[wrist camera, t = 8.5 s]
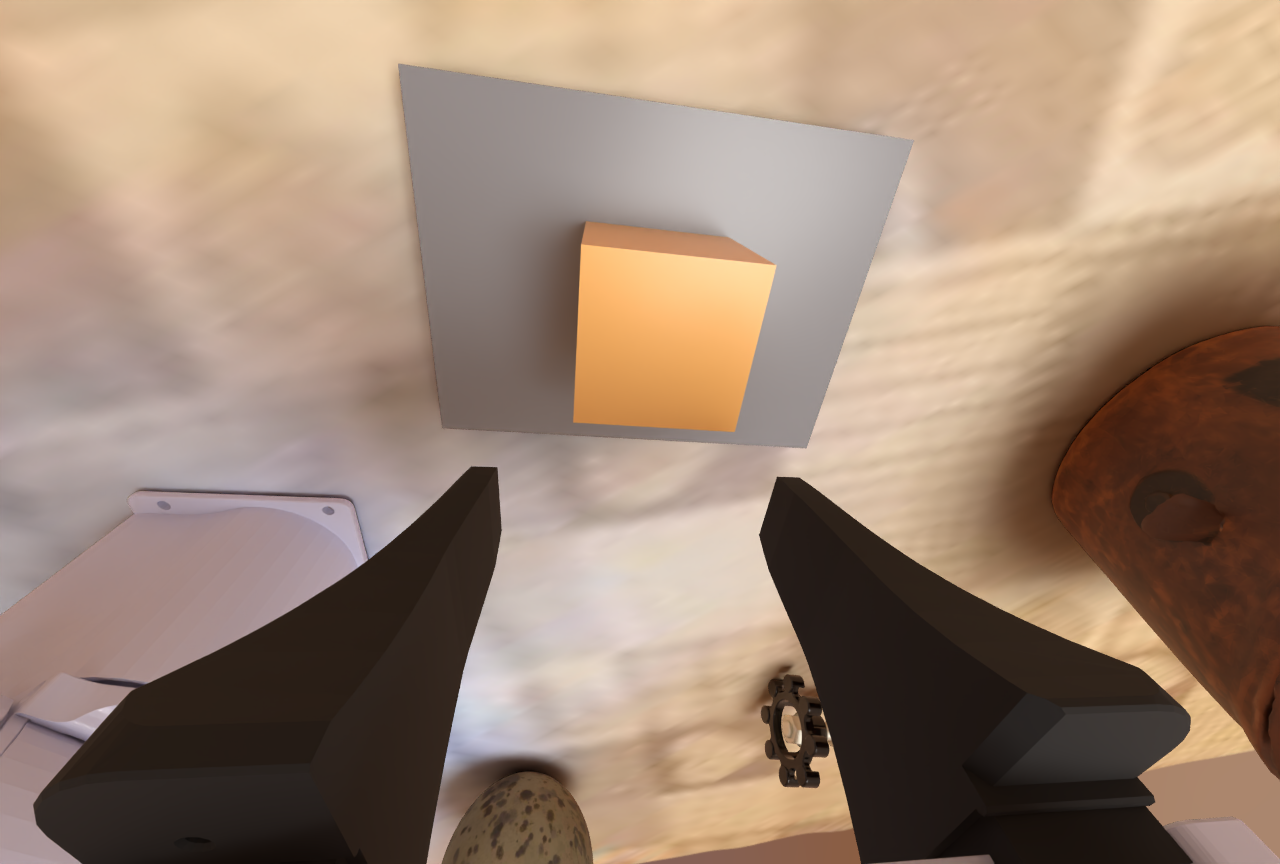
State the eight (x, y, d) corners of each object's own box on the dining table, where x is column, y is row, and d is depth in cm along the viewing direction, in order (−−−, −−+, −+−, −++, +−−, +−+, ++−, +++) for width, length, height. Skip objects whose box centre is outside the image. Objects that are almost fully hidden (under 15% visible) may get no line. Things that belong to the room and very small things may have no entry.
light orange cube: (579, 359, 18) (573, 422, 14) (585, 220, 15) (581, 244, 11) (703, 369, 19) (734, 432, 14) (729, 237, 16) (776, 265, 12)
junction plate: (452, 411, 20) (413, 478, 16) (416, 72, 14) (337, 34, 10) (794, 431, 22) (840, 496, 18) (889, 141, 16) (993, 134, 12)
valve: (930, 669, 34) (788, 653, 32) (996, 769, 29) (829, 759, 26) (884, 716, 37) (751, 705, 35) (935, 815, 32) (781, 810, 29)
